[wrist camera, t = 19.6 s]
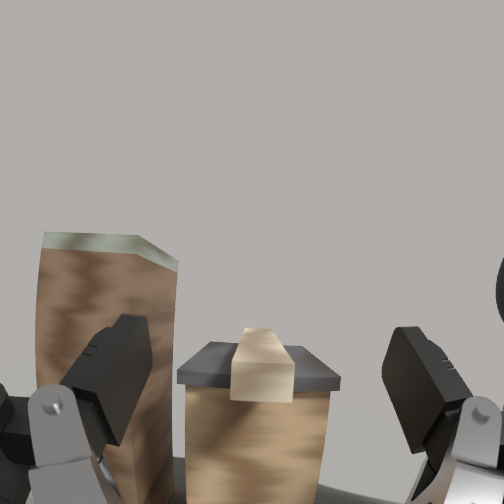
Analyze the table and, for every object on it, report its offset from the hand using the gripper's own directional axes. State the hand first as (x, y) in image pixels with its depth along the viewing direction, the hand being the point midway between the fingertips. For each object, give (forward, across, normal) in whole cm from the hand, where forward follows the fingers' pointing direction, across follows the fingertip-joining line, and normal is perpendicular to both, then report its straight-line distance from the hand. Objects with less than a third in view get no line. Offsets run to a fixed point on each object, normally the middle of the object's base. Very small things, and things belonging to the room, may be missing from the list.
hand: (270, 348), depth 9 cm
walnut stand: (+4, +15, +32) cm, 36 cm away
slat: (+12, 0, +11) cm, 16 cm away
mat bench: (+4, 0, +32) cm, 32 cm away
